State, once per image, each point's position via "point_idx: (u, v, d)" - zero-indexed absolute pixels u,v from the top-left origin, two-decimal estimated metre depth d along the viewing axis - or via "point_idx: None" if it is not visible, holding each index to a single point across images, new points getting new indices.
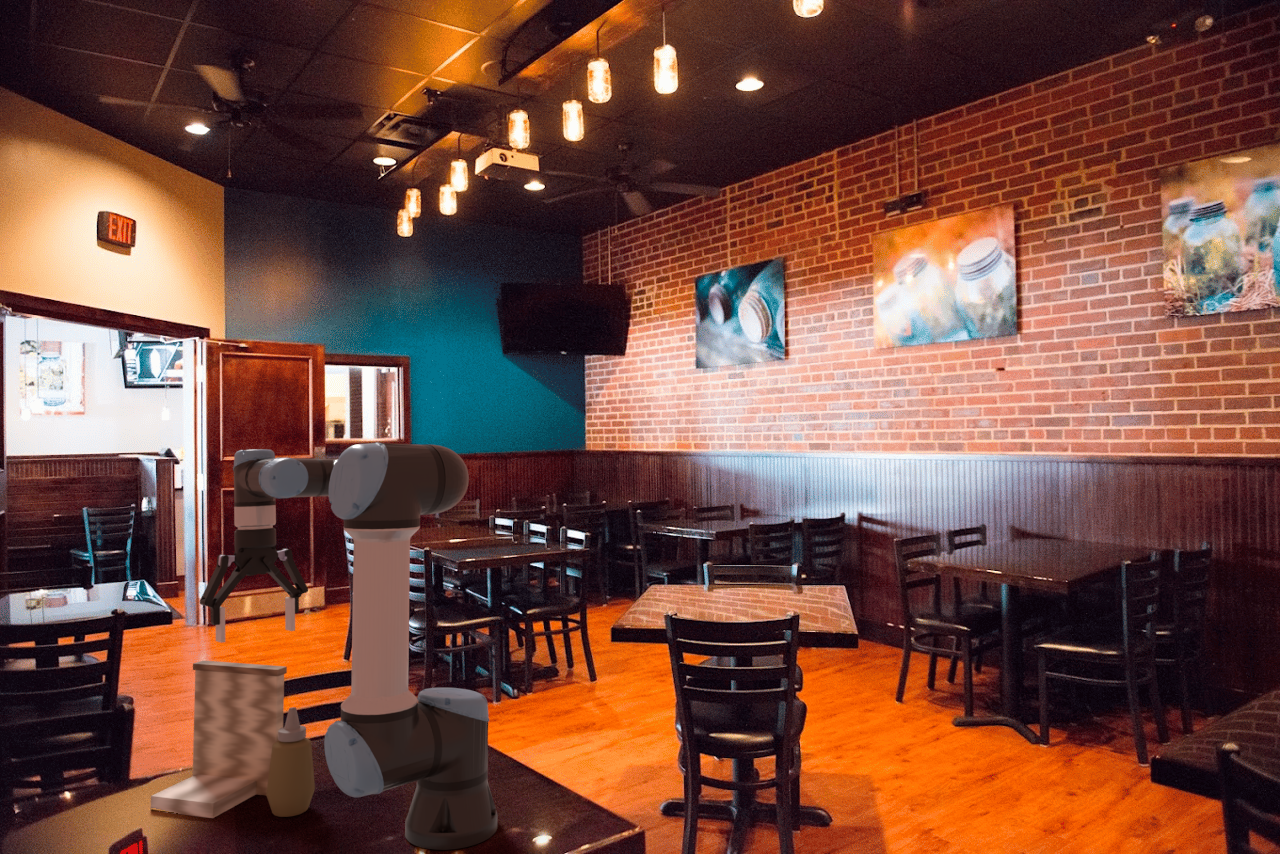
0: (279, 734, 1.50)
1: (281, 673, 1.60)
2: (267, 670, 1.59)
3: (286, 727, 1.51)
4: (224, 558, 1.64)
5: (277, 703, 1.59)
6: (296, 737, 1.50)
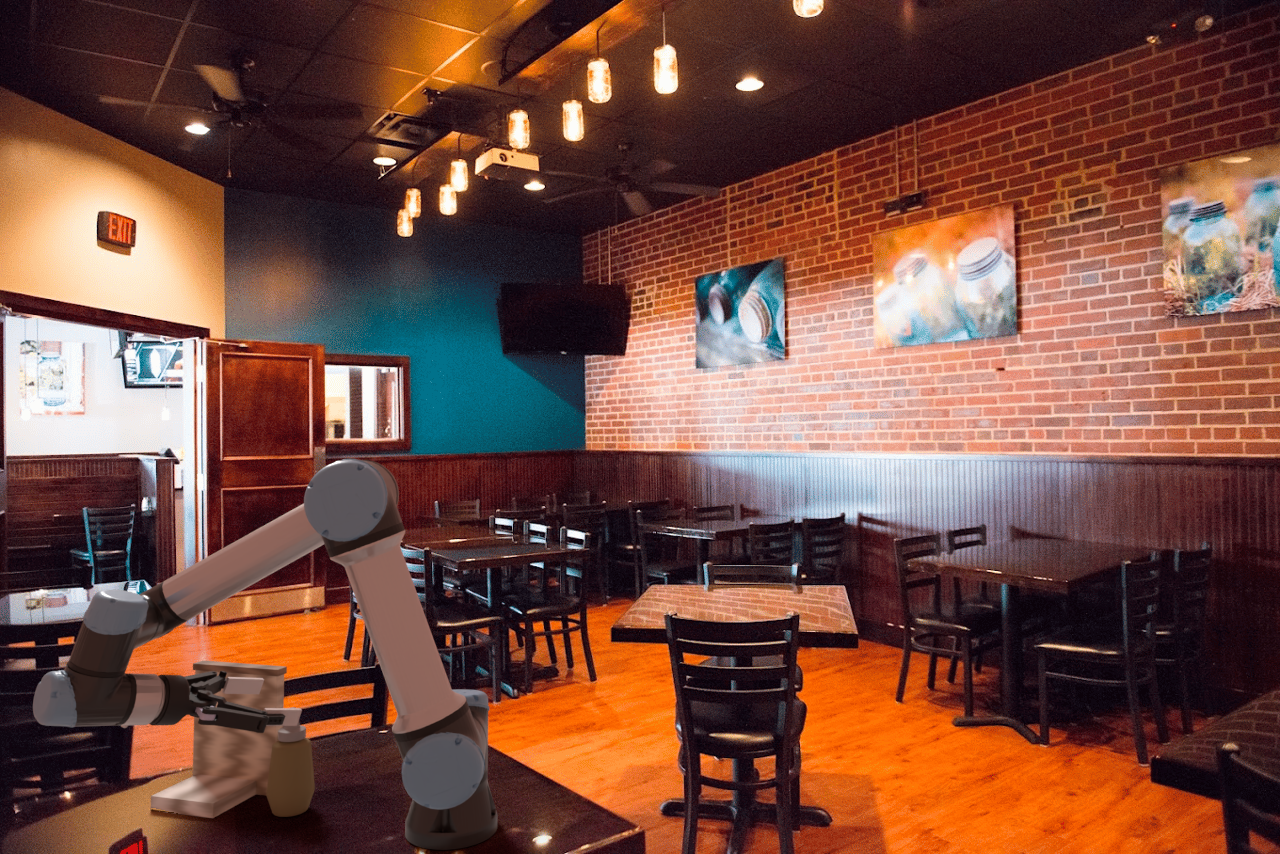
0: (279, 734, 1.50)
1: (281, 673, 1.60)
2: (267, 670, 1.59)
3: (286, 727, 1.51)
4: (208, 708, 1.32)
5: (277, 703, 1.59)
6: (296, 737, 1.50)
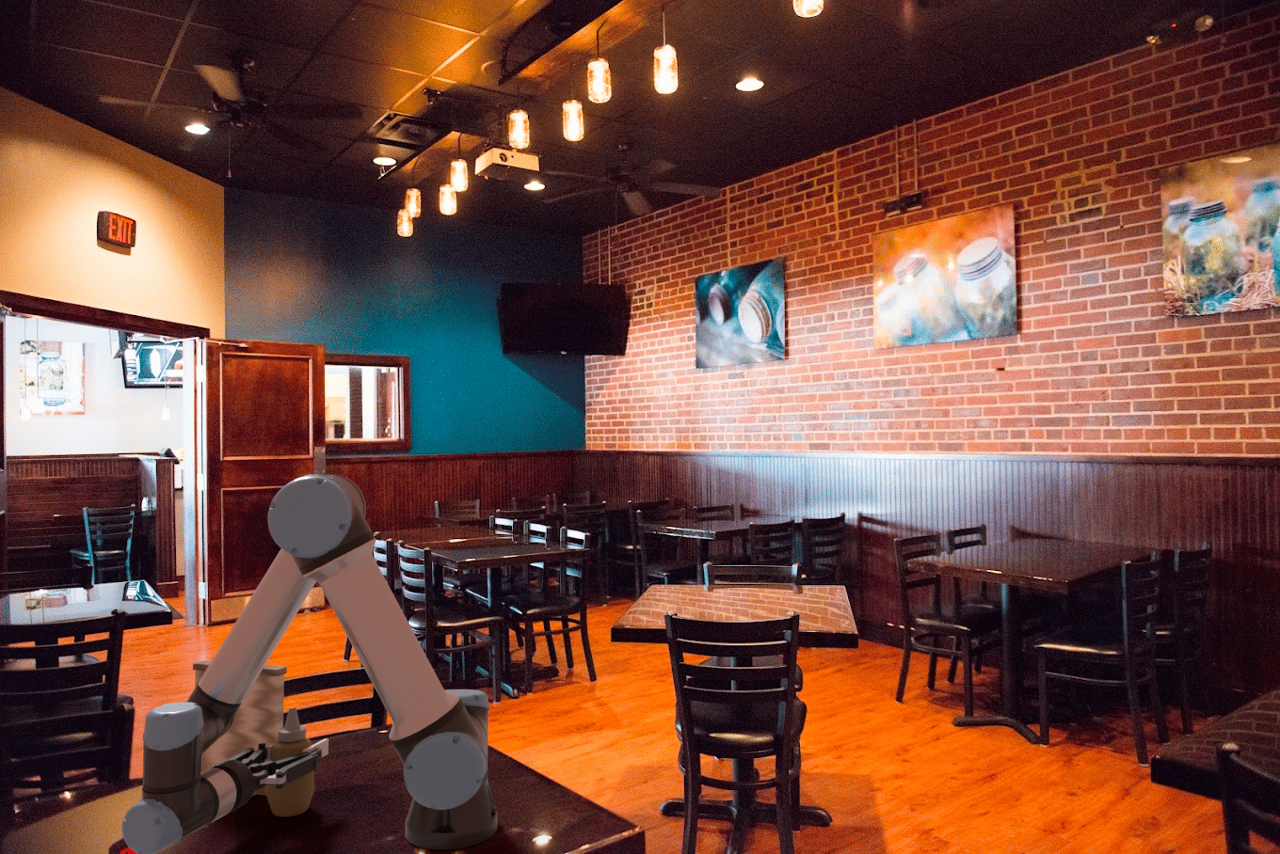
0: (279, 734, 1.51)
1: (281, 673, 1.60)
2: (267, 670, 1.59)
3: (286, 727, 1.51)
4: (281, 772, 1.40)
5: (277, 703, 1.59)
6: (296, 737, 1.50)
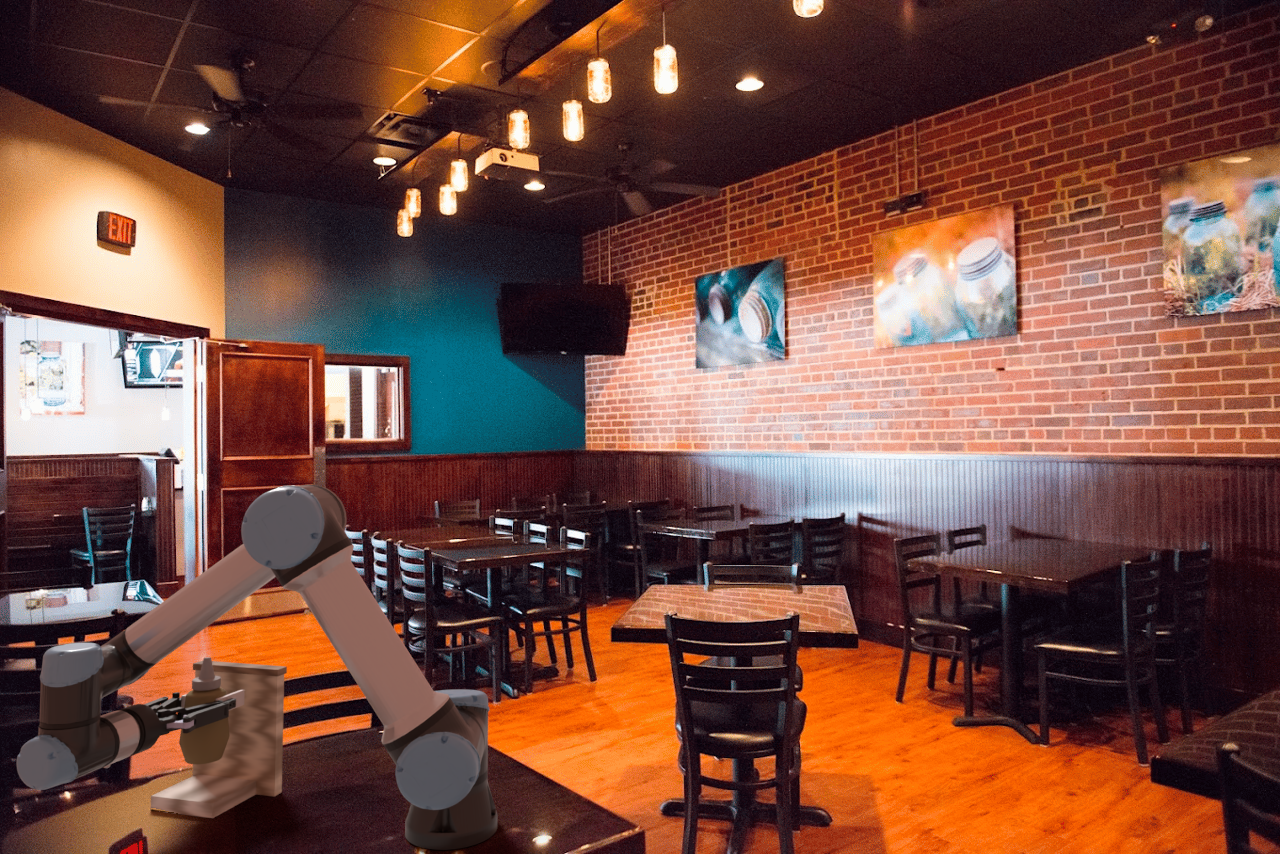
0: (193, 683, 1.52)
1: (281, 673, 1.60)
2: (267, 670, 1.59)
3: (200, 676, 1.52)
4: (188, 716, 1.41)
5: (277, 703, 1.59)
6: (209, 686, 1.52)
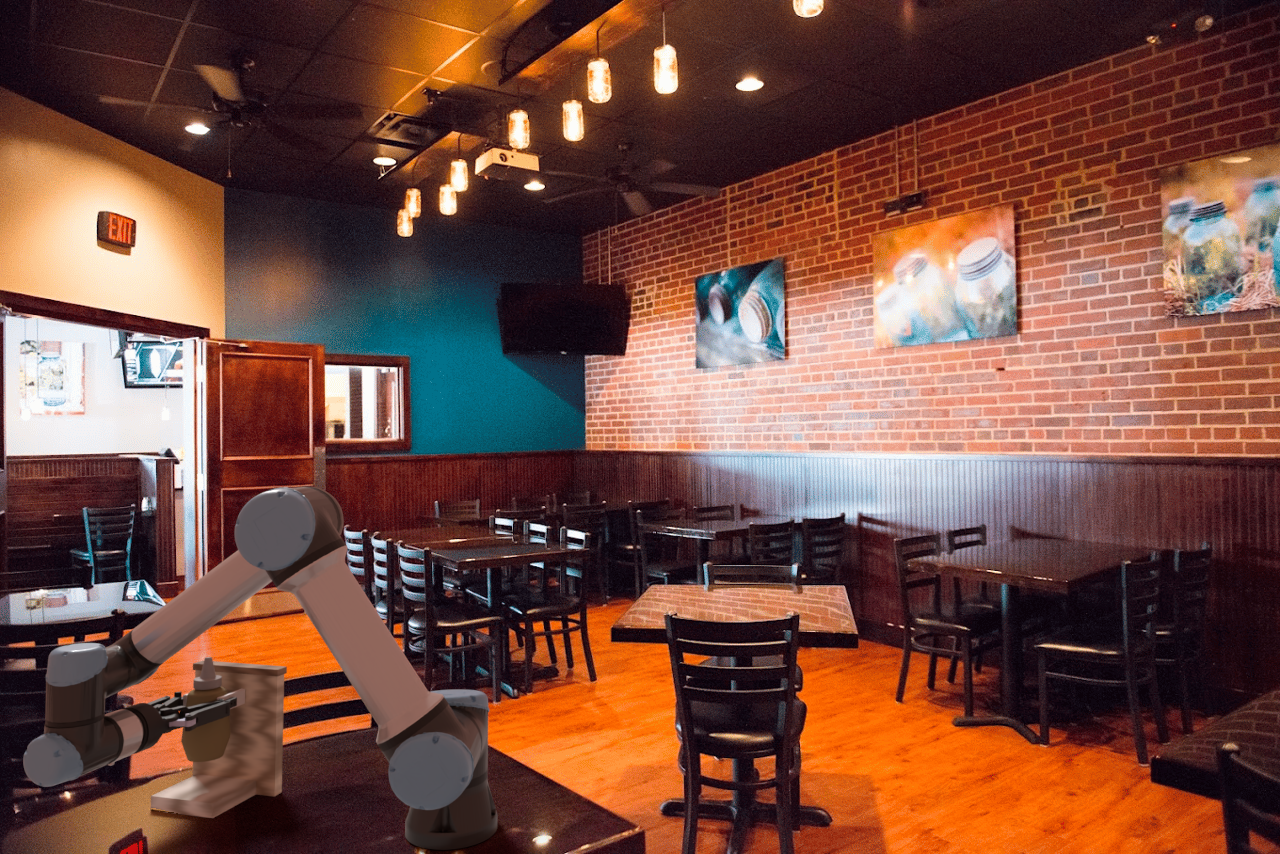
0: (194, 682, 1.55)
1: (281, 673, 1.60)
2: (267, 670, 1.59)
3: (201, 676, 1.55)
4: (190, 715, 1.44)
5: (277, 703, 1.59)
6: (211, 685, 1.55)
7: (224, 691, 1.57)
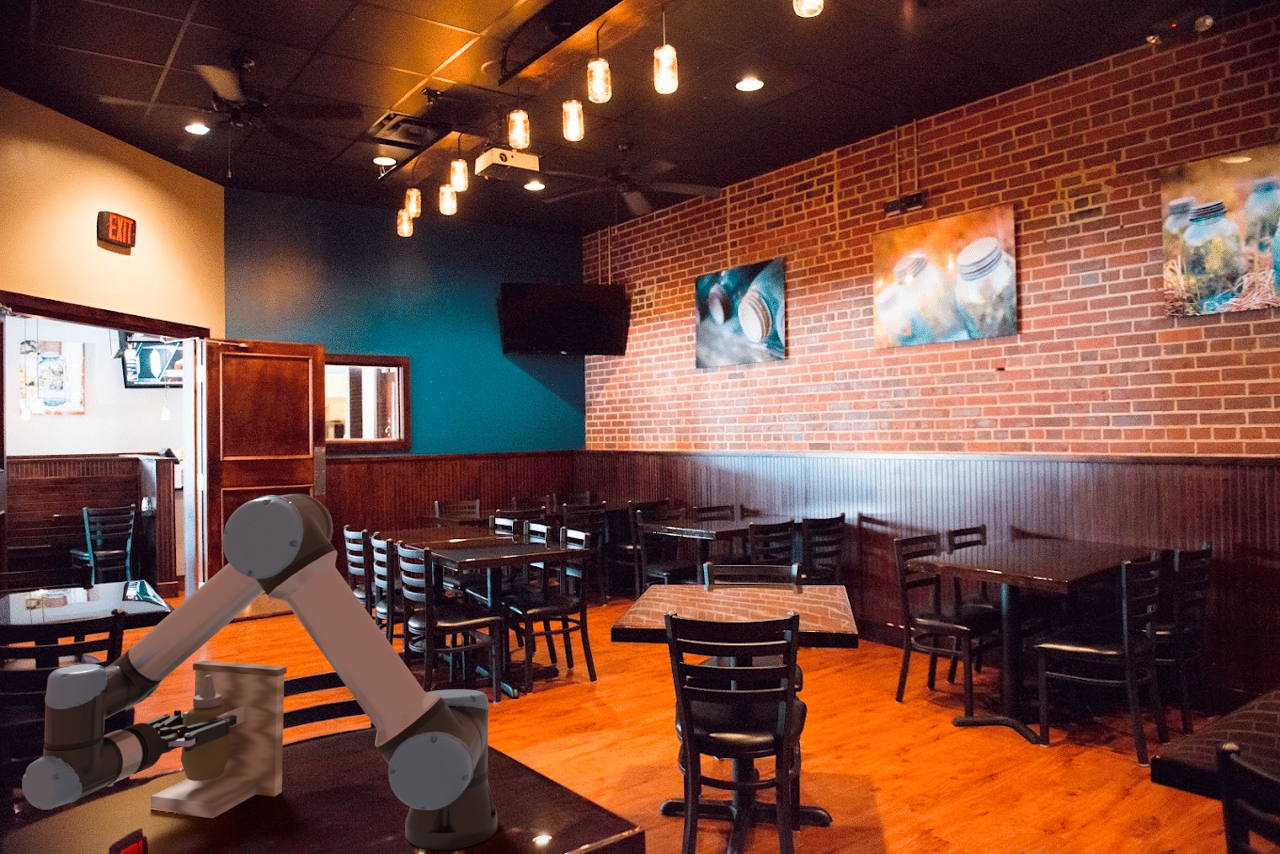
0: (194, 701, 1.55)
1: (281, 673, 1.60)
2: (267, 670, 1.59)
3: (201, 694, 1.55)
4: (189, 735, 1.44)
5: (277, 703, 1.59)
6: (210, 704, 1.55)
7: (224, 709, 1.56)
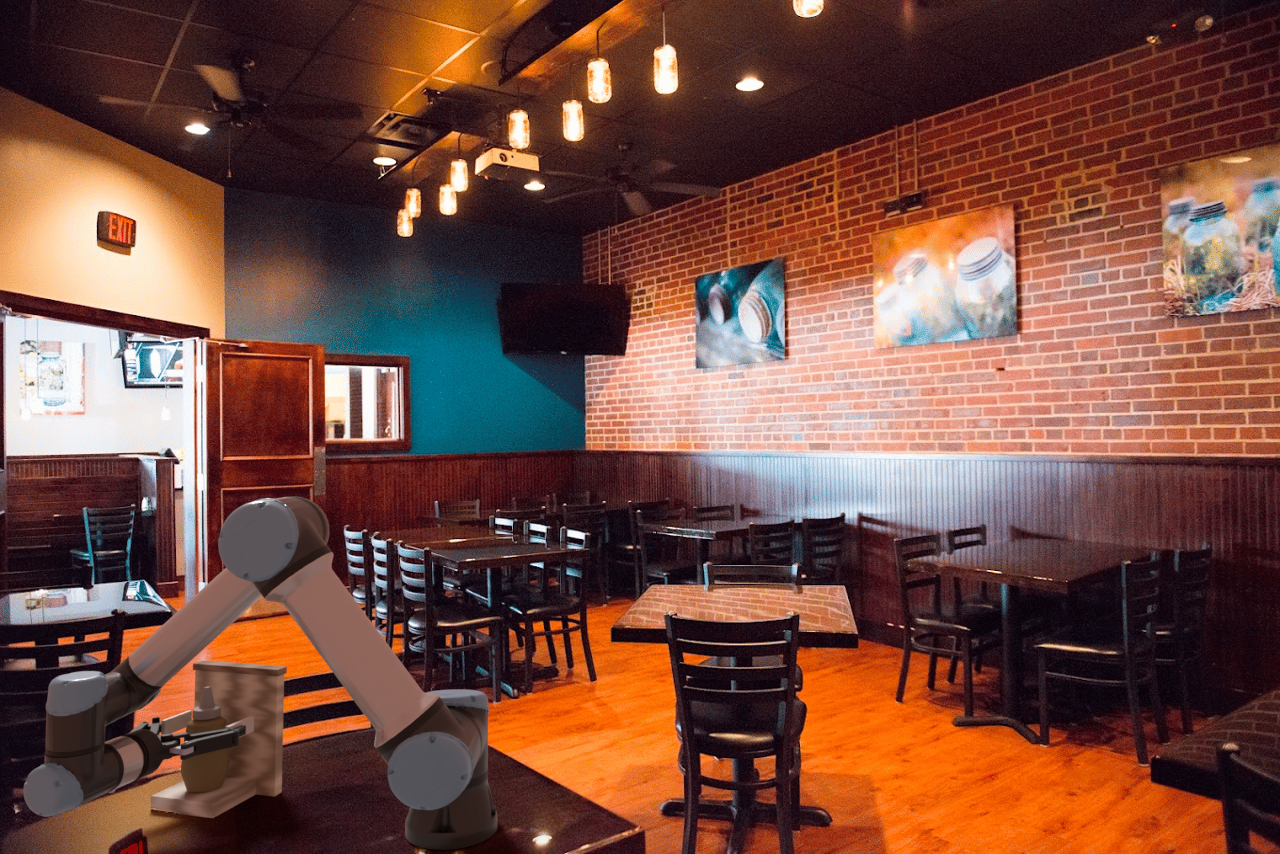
0: (193, 712, 1.55)
1: (281, 673, 1.60)
2: (267, 670, 1.59)
3: (200, 706, 1.55)
4: (185, 743, 1.43)
5: (277, 703, 1.59)
6: (210, 715, 1.54)
7: (223, 721, 1.56)
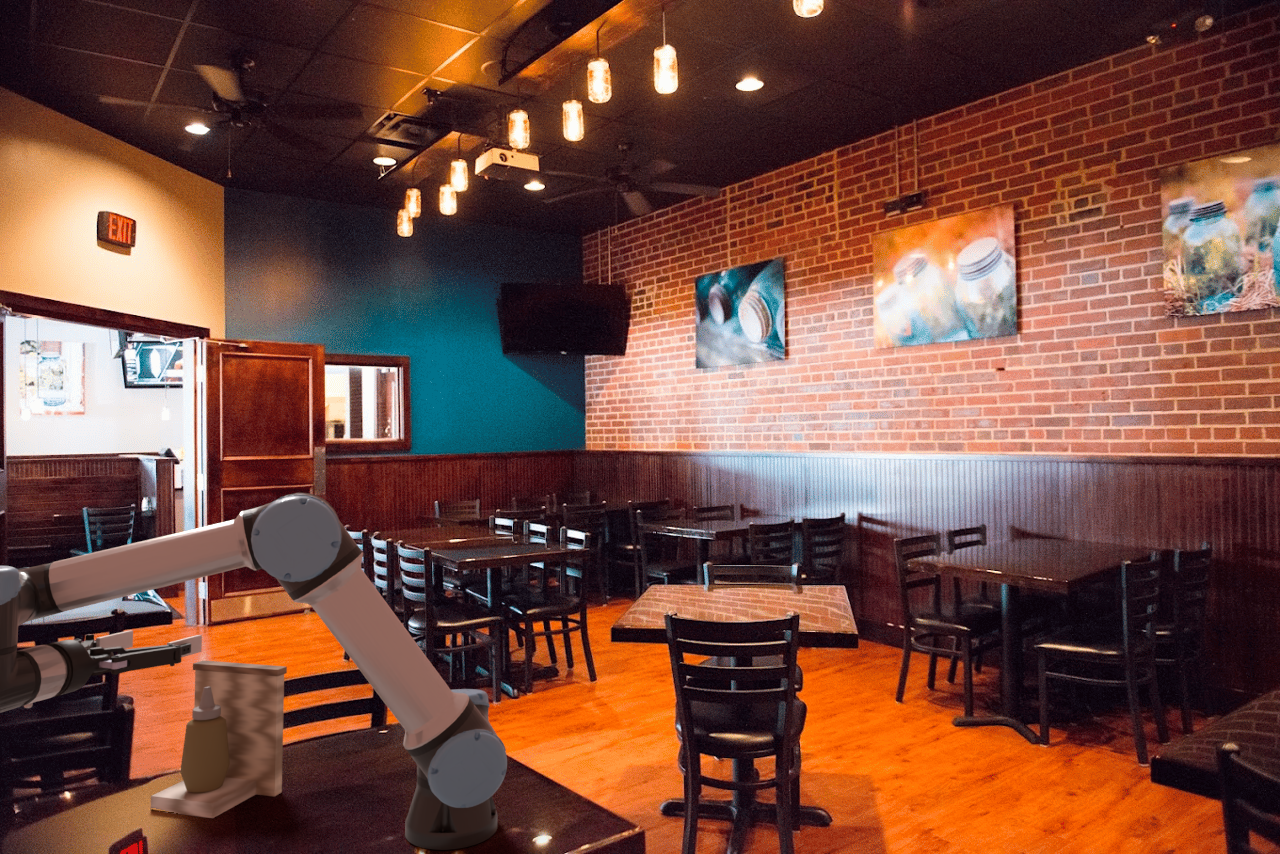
0: (193, 712, 1.55)
1: (281, 673, 1.60)
2: (267, 670, 1.59)
3: (200, 706, 1.55)
4: (117, 656, 1.25)
5: (277, 703, 1.59)
6: (210, 715, 1.54)
7: (223, 721, 1.56)
